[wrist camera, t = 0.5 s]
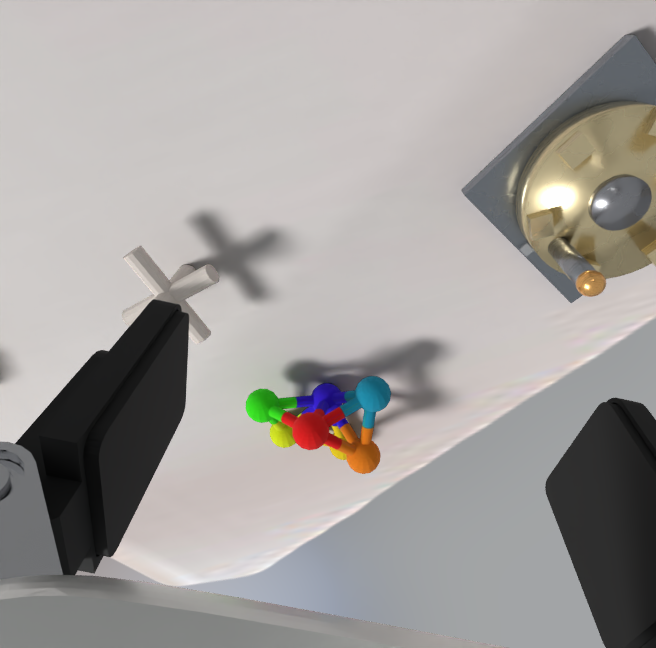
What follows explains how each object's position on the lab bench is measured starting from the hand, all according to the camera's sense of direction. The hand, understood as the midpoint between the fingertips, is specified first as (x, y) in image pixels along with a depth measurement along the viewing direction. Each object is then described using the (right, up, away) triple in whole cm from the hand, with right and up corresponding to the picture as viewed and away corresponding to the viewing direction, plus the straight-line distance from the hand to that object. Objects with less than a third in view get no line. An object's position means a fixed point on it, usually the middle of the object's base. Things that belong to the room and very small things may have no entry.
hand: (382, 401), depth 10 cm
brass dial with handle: (+21, +13, +27) cm, 36 cm away
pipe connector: (-15, +7, +36) cm, 40 cm away
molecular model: (-2, -7, +43) cm, 44 cm away
